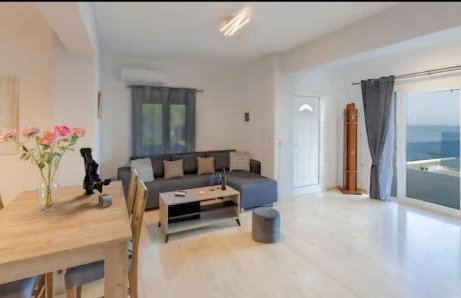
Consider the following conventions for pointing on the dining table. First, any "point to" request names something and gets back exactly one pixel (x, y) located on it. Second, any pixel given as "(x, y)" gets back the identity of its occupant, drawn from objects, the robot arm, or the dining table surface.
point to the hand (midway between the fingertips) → (101, 193)
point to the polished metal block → (105, 199)
